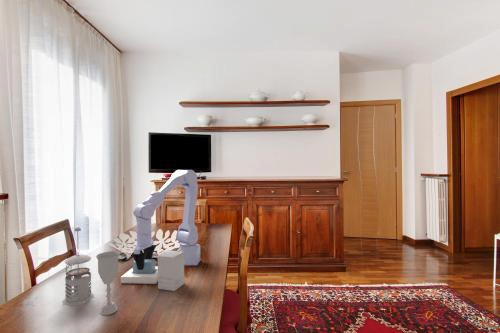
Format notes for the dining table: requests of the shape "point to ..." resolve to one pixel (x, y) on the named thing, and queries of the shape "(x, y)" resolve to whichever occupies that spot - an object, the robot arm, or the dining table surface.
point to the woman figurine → (123, 256)
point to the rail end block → (145, 267)
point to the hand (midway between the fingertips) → (144, 266)
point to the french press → (77, 280)
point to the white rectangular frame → (140, 277)
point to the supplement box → (170, 270)
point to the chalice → (108, 277)
